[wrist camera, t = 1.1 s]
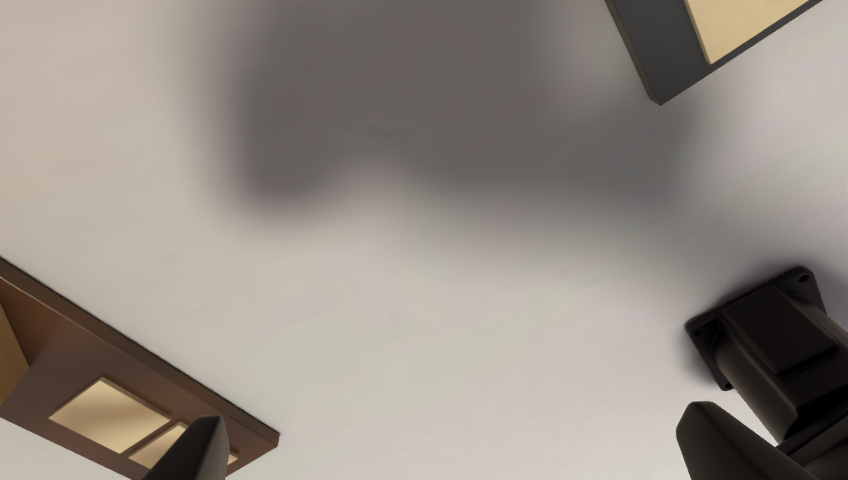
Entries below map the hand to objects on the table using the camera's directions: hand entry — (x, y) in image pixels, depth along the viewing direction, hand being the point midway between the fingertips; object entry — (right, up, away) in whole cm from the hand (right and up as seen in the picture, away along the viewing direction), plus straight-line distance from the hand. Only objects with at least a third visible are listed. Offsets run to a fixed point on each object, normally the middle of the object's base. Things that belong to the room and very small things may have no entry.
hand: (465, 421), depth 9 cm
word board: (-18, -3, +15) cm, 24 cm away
